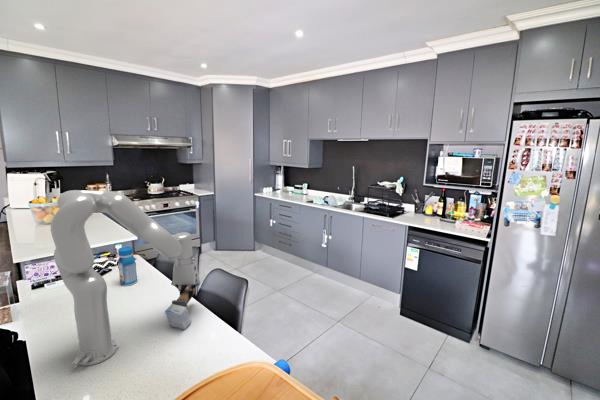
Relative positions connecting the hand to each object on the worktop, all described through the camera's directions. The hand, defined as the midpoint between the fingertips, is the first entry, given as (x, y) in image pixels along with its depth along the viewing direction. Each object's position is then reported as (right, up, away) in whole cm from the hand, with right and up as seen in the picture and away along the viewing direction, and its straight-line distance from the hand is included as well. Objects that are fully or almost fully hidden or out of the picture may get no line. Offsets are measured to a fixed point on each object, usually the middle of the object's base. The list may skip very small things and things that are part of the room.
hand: (186, 297), depth 133 cm
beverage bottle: (-43, -1, +27) cm, 51 cm away
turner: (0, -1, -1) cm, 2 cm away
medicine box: (+1, -9, -9) cm, 12 cm away
